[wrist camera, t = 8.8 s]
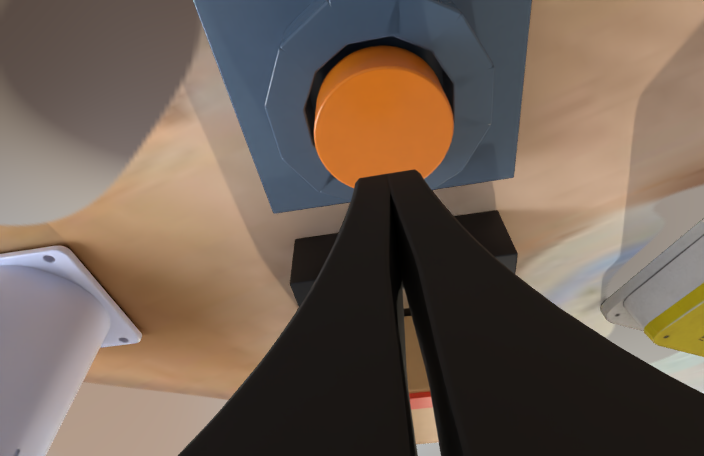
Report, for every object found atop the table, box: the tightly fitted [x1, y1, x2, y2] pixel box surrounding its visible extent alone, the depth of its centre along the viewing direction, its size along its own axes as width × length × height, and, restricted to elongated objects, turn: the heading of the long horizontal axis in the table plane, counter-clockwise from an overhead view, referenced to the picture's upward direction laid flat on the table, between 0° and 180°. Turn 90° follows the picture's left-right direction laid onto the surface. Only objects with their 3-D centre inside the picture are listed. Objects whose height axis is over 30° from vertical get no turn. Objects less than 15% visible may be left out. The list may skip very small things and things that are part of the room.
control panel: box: [290, 211, 518, 317], centre depth 23 cm, size 10×12×3 cm
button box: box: [193, 0, 532, 214], centre depth 14 cm, size 10×9×4 cm
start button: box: [314, 45, 454, 188], centre depth 13 cm, size 4×4×2 cm
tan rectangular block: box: [404, 316, 439, 444], centre depth 20 cm, size 6×2×4 cm, turn 9°
